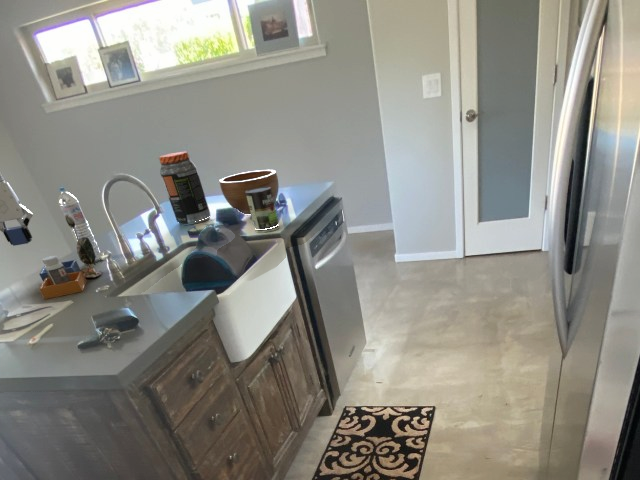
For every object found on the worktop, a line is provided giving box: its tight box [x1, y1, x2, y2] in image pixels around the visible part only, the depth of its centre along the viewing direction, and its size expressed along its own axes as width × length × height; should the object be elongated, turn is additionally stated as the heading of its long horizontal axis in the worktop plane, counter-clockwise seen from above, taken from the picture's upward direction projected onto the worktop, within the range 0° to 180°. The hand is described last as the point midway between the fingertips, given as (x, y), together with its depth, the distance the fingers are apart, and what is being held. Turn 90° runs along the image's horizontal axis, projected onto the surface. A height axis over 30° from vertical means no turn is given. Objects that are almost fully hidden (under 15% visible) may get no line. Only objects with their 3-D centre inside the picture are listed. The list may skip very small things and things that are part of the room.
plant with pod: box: [64, 215, 103, 278], centre depth 181 cm, size 8×11×20 cm
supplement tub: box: [158, 151, 211, 226], centre depth 230 cm, size 16×16×26 cm
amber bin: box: [38, 270, 87, 300], centre depth 176 cm, size 12×12×4 cm
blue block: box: [6, 225, 30, 247], centre depth 172 cm, size 5×5×5 cm
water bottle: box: [57, 186, 102, 263], centre depth 196 cm, size 7×7×25 cm
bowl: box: [219, 169, 280, 215], centre depth 228 cm, size 25×25×15 cm
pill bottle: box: [41, 255, 71, 285], centre depth 174 cm, size 6×6×10 cm
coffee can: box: [245, 187, 280, 234], centre depth 206 cm, size 10×10×14 cm
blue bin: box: [38, 259, 81, 282], centre depth 190 cm, size 11×11×4 cm
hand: (21, 241), depth 174 cm, fingers closed on blue block, 4 cm apart
